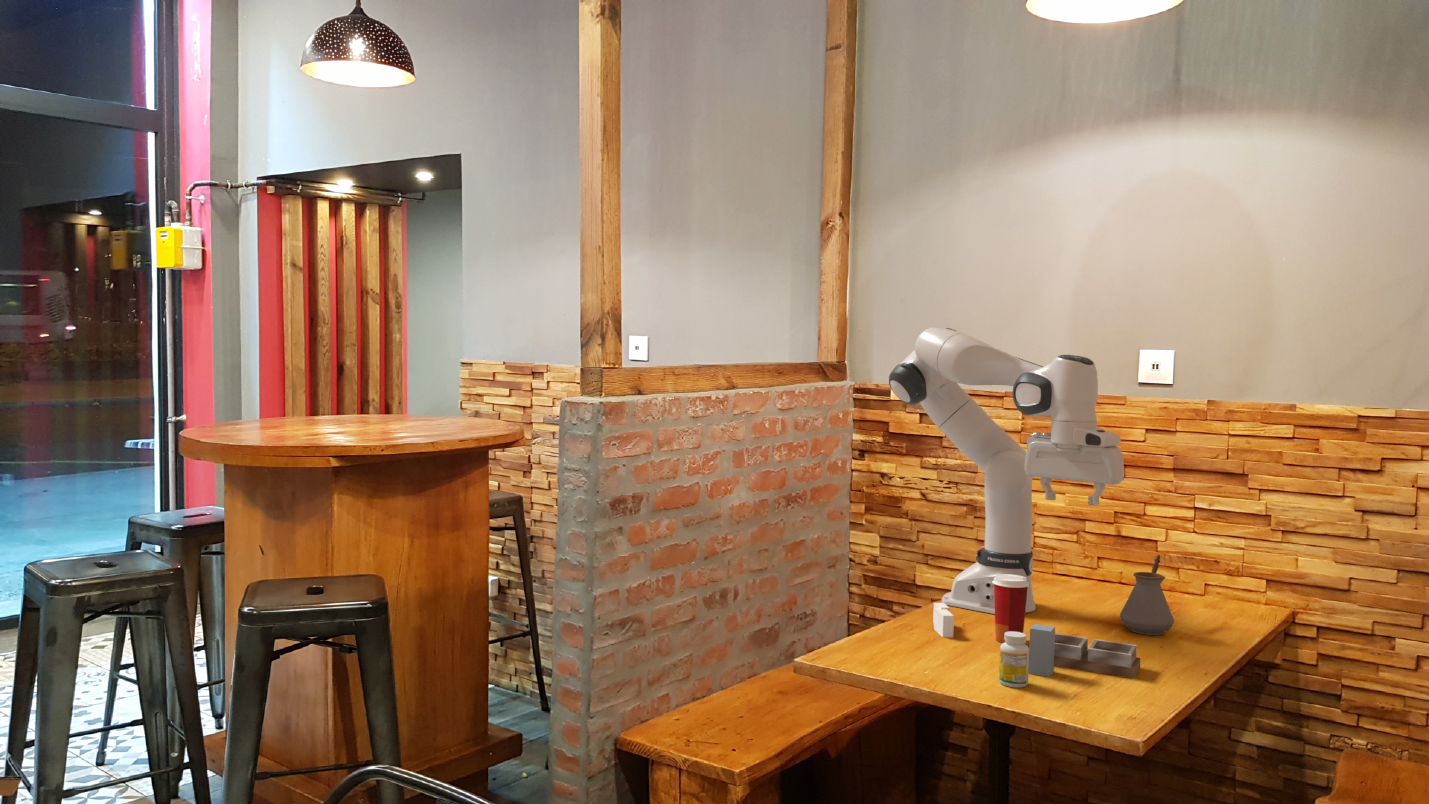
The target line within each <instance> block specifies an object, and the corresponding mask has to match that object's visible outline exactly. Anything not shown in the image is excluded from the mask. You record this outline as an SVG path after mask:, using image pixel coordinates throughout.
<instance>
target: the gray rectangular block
mask: <svg viewBox="0 0 1429 804" xmlns="http://www.w3.org/2000/svg"><path fill="white" fill-rule="evenodd" d="M1055 633H1056V626H1054V625H1053V626H1052V625H1045V624H1039V623H1038V624H1037V623H1034V624H1033V625H1032V626H1031V627H1030V628H1029V646H1028V648H1029V671H1028V675H1034V676H1035V675H1036V676H1041V677H1046V678H1048V677H1049V678H1050V677H1051V675H1052V674H1053V673H1054V672H1055V671H1054V670H1055V666H1054V647H1055Z"/></svg>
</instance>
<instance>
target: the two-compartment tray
mask: <svg viewBox="0 0 1429 804" xmlns="http://www.w3.org/2000/svg"><path fill="white" fill-rule="evenodd" d="M1137 647H1138V645H1137V644H1131V643H1124V642H1118V641H1110V640H1103V639H1098V638H1095V639H1094V640H1093V641H1092V643H1091V644H1090V645H1089V638H1088V637H1083V636H1077V635H1076V636H1075V635H1069V634H1063V633H1062V634H1061V633H1056V632H1055V647H1054V667H1060V668H1068V669H1072V670H1078V671H1080V670H1081V671H1086V672H1091V673H1092V672H1093V673H1096V674H1097V673H1099V674H1102V675H1103V674H1105V675H1110V676H1116V677H1123V678H1129V679H1136V676H1137V674H1138V673H1139V671H1140V670H1141V658H1142V657H1141V658H1140V657H1138V656H1137V654H1138V653H1137Z"/></svg>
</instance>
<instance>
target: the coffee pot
mask: <svg viewBox="0 0 1429 804" xmlns="http://www.w3.org/2000/svg"><path fill="white" fill-rule="evenodd" d="M1161 558H1162V559H1163V560H1162V561H1161ZM1153 560H1154V563H1153V564H1152V569H1151V572H1148V571H1137V572H1134V573H1132V574H1133V576H1134V578H1135V584H1134V587H1132V591H1131V592H1130V594H1129V596H1128V598H1127V600H1126V602H1125V603H1124V606H1123V608H1122V610H1121V611H1120V614H1119V617H1120V620H1121V622H1122V623H1123V625H1125V626H1126V627H1127V628H1128V630H1129V631H1130V632H1133V633H1137V634H1142V635H1147V636H1148V635H1150V636H1158V635H1164V634H1165V632H1167V631H1168V630H1170V629H1171V628H1172V627H1173V625H1174V624H1175V619H1174V617H1173V614H1172V612H1171V609H1170V606H1169V604H1168V601H1167V599H1166V596H1165V593H1164V591H1163V589H1162V586H1161V584H1162V583H1163V581H1164V580H1165V579H1166V576H1164V575H1163V574H1161V573H1157V572H1158V569H1159V567H1160V565H1159V564H1160V563H1164V561H1165V558H1164V557H1163V556H1161V555H1160V554H1157V555H1156V556H1154V557H1153Z"/></svg>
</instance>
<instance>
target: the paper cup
mask: <svg viewBox="0 0 1429 804" xmlns="http://www.w3.org/2000/svg"><path fill="white" fill-rule="evenodd" d="M992 583H993V584H994V601H995V614H994V628H995V629H994V630H995V635H994V636H995V641H996V642H998V643H1000V644H1003V643H1005V642H1006V641H1005V640H1004V634H1005V632H1009V631H1014V632H1021V633H1024V628H1025V619H1026V613H1025V609H1026V600H1027V588H1028V586H1029V583H1028V581H1027V578H1026V577H1023V576H1019V575H1011V574H1001V575H996V577H995V578H994V580H993V581H992Z"/></svg>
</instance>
